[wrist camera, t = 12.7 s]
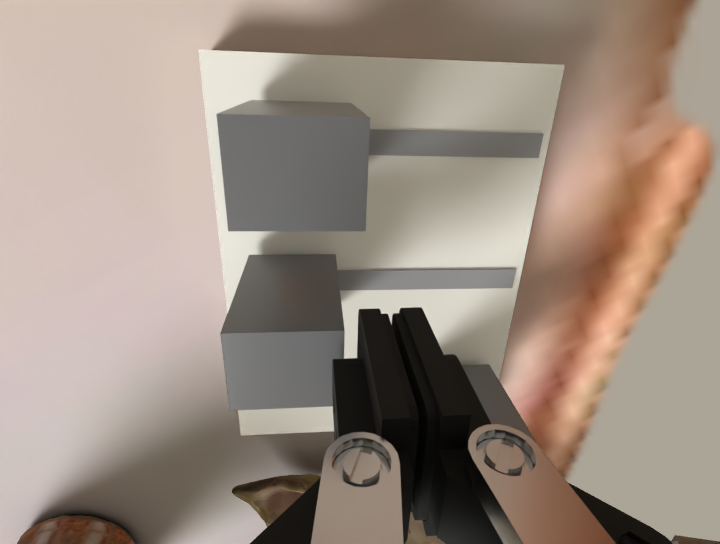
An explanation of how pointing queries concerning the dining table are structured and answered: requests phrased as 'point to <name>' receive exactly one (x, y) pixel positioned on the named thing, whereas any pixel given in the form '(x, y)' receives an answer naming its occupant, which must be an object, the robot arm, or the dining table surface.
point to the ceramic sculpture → (285, 490)
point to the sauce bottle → (75, 532)
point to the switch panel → (407, 192)
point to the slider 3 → (494, 398)
